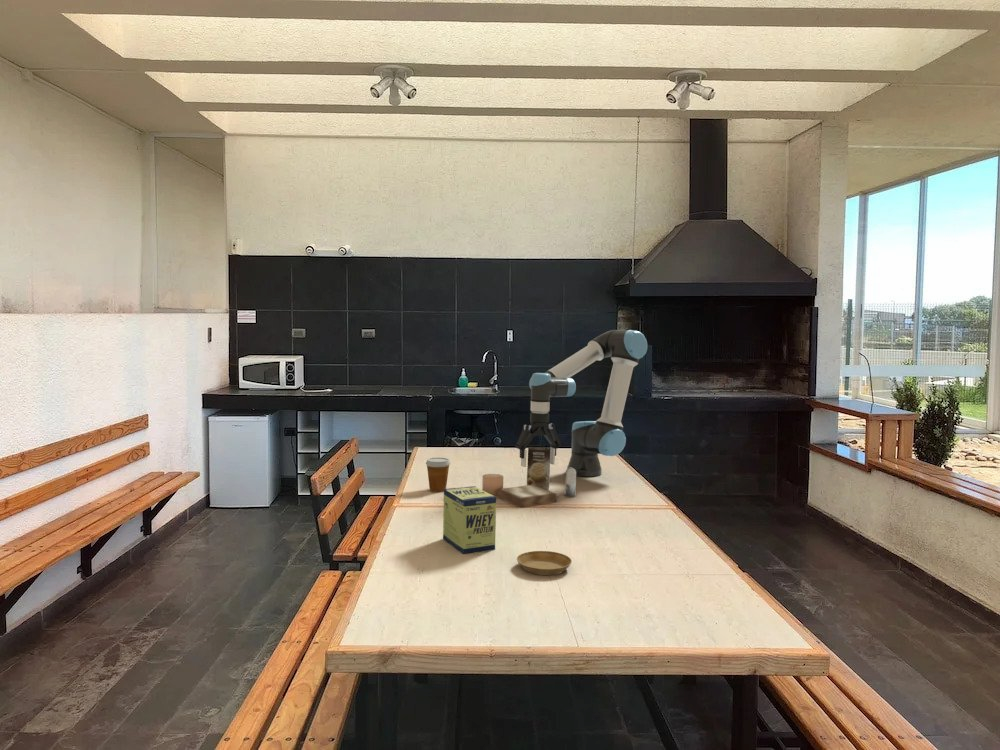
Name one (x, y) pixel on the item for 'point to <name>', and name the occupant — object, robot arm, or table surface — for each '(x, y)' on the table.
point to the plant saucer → (544, 562)
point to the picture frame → (526, 495)
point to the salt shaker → (570, 482)
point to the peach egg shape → (492, 483)
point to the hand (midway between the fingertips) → (537, 465)
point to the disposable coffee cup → (437, 473)
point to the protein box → (469, 519)
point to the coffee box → (538, 467)
